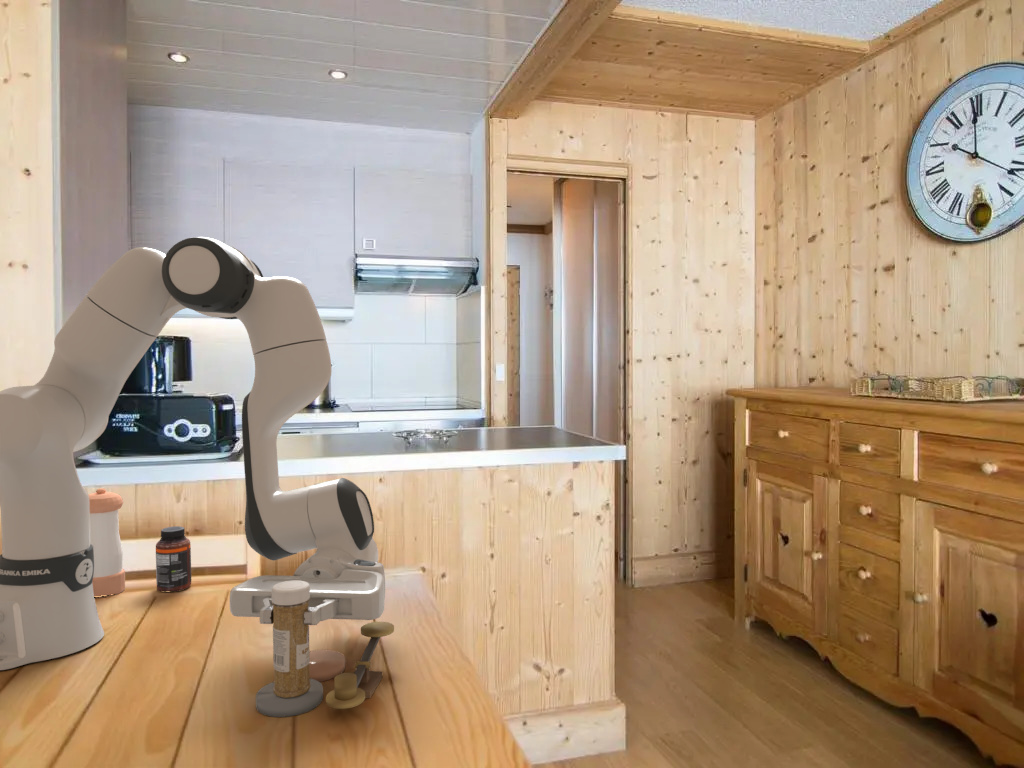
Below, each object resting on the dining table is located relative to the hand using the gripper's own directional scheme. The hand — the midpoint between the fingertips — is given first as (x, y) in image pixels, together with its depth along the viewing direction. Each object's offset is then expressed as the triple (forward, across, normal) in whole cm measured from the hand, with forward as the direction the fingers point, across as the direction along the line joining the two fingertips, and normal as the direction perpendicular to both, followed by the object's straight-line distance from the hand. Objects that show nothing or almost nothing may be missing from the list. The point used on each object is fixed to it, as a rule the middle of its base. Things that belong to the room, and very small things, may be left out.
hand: (287, 618), depth 88 cm
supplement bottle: (-42, -39, +11) cm, 59 cm away
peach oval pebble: (-10, 0, +11) cm, 15 cm away
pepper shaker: (-40, -51, +11) cm, 65 cm away
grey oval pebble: (-1, 0, +11) cm, 11 cm away
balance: (-5, +8, +11) cm, 14 cm away
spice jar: (-1, 0, +10) cm, 10 cm away
